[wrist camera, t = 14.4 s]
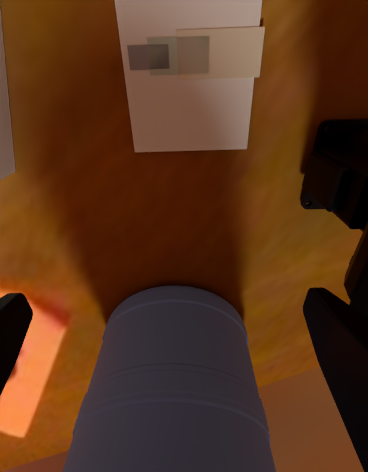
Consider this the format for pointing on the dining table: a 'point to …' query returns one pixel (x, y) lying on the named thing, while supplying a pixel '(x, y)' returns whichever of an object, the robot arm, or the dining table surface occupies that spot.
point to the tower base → (5, 118)
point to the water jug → (172, 390)
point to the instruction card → (190, 71)
